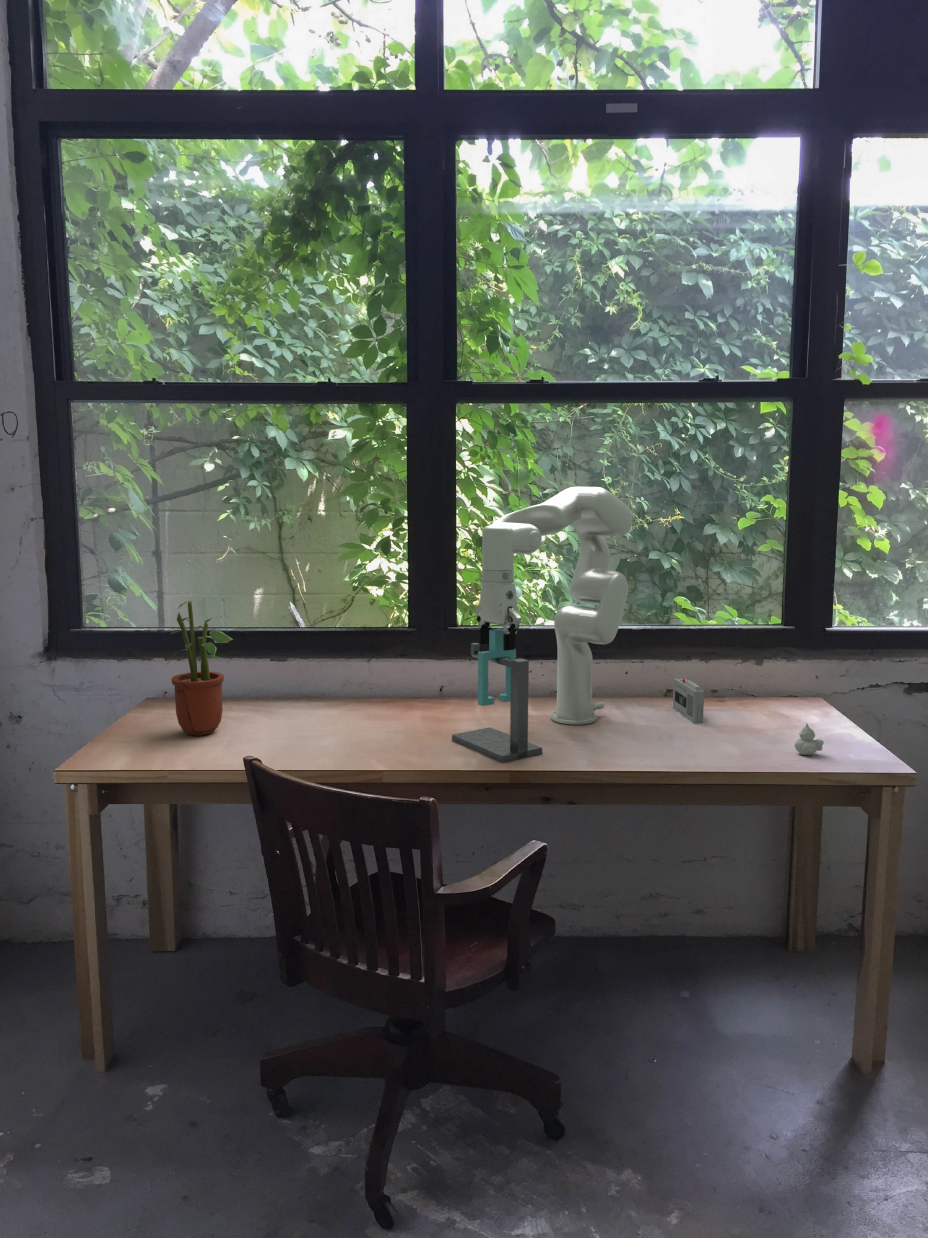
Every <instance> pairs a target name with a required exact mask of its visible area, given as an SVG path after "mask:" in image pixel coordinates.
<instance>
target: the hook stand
mask: <svg viewBox="0 0 928 1238" xmlns="http://www.w3.org/2000/svg"><path fill="white" fill-rule="evenodd" d="M480 645H481V644H480V643H479V642H473V643H470V655H471V656H472V657H473V658H476V659H478V652H481V651H480V650H481V649H480ZM488 662H490V663H494V664H496V665H497V664H498V665H501V666H504V667H506V666H507V667H511V701H509V702H510V710H509V711H510V714H509V715H510V720H509V722H510V724H509V734H508V733H506V732H503V731H501V730H498V729H495V728H493V727H489V726H488V727H486V728H485V727H484V728H479V729H475V730H469V731H464V732H459V733H452V734H451V741H452V742H455V743H457V744H459V745H461V746H464V747H466V748H468V749H471V750H473V751H476V752H478V753H480V754H482V755H485V756H486V757H490V758H492V759H493V760H496V761H498V762H501V763H505V762H509V761H510V762H511V761H515V760H520V759H524V758H529V757H532V756H538V755H543V747H541V746H539V745H536V744H534V743H531V742H529V683H530V681H529V679H530V678H529V676H530V675H529V673H530V672H529V671H530V670H529V669H530V668H529V667H530V664H529V662H530V661H529V660H527V659H524V658H516V659H514V660H507V659H506V658H505V657H500V658H493V659H488Z"/></svg>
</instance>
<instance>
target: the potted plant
mask: <svg viewBox="0 0 928 1238" xmlns="http://www.w3.org/2000/svg"><path fill="white" fill-rule="evenodd" d="M186 603H187V609H188V610H187V612H188V616H187V617H184V618H183V617H182V615H181V613H180V612H179V611H178V613H177V618H176V621H177V623H178V625H179V627H180V629H174V630H173V631H172V632H171V633H170V635H173V634H175V633H178V632H181V633H182V638H183V642H184V645H185V649H184V648H183V649H182V650H179V651H177V652H175V653H173V654H172V655H171V656H170V658H169V659H168V662H167V663H166V665H169V663H170V661H171V660H172V659H173V658H174V657H175V656H176V655H177V654H178V653H180V652H181V651H186V655H187V659H188V666H189V671H190V672H186V673H185V672H184V673H180V674H176V675H173V676H172V677H171V684H172V685H173V686H174V703H175V704H174V705H175V714H176V719H177V723H178V725H179V726H180V728H181V729H182V731H183V732H184V733H186V734H188V735H190V736H192V737H193V736H195V737H196V736H197V737H200V736H206V735H210V734H212V733H214V732H215V731H216V730H217V729H218V728H219V725H220V724H221V723H222V716H223V712H224V709H223V706H224V705H223V684H222V683H223V682H225V674H224V673H221V672H216V671H210V667H209V659H208V658H212V659H214V658H216V659H224V658H222V657H220V656H217V655H215V654H216V652H217V647H216V646H215V644H216V643H217V644H218V643H219V644H225V643H226V644H227V643H229V642H231V641H234V639H233V638H232V637H230V636H229V635H227V634H225V633H224V632H223V631H219V630H211V631H210V632H209V636H208V629H209V628H208V627H209V624H208V622H210V621H211V620H212V619H215V617H211V618H207V619H206V620H204V621H203V622H204V624H203V625H198V626H196V627H195V625H194V614H193V612H194V611H193V605H192V604H193V601H191V600H189V601H185V602H183V603H181V604H180V605H179V606H178V607H177V610H178V609H180V607H182V606H183V605H185V604H186ZM185 621H187V622H188V624H189V635H190V640H189V637H188V633H187V632H188V631H187V629H186V626H185ZM202 627H203V628H202ZM196 628H197V629H198V628H202V629H203V630H202V636H198V637H197V641H198V642H197V643H198V646H199V647H198V649H199V654H200V656H197V651H196V650H197V649H196V648H197V647H196V636H195V629H196ZM207 638H209V639H212V640H213V641H214V643H215V644H214V643H213V642H207ZM208 653H209V654H208ZM197 661H198V663H200V671H198V664H197Z"/></svg>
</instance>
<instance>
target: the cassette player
mask: <svg viewBox="0 0 928 1238" xmlns="http://www.w3.org/2000/svg"><path fill="white" fill-rule="evenodd" d="M672 697H673V698H672V710H674V709H675V710H674V711H675V712H676V713H678V712H679V713H680V715H681V716H682V717H684V718H685V717H686V718H687V720H688V721H689V720H690V721H689V722H691V723H692V724H703V723H704V710H705V709H704V708H705V706H704V705H705V691H704V690H703V689H702V688H701V686H699V685H698V684H696V683H695V682H693V681H691V680H689V679H687V678H674V679H673V696H672ZM679 713H678V714H679ZM686 718H685V719H686Z"/></svg>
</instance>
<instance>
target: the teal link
mask: <svg viewBox="0 0 928 1238" xmlns="http://www.w3.org/2000/svg"><path fill="white" fill-rule="evenodd" d="M503 634H506V633H505V631H504V629H503V628H502V629H501V628H496V629H495V628H494V629H492V630H489V644H488V645H489V647H488V648H489V649H488V650H483V651H480V652H478V658H477V705H478V706H482V707H485V706H492V705H495V697H494V696H491V695H489V661H488V659H493V658H505V659H507V660H514V659H517V649H516V648H515V649H514V650H507V651H505V650H503ZM498 699H499V702H503V703H508V702H511V667H507V666H505V693H500V694H499V698H498Z"/></svg>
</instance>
